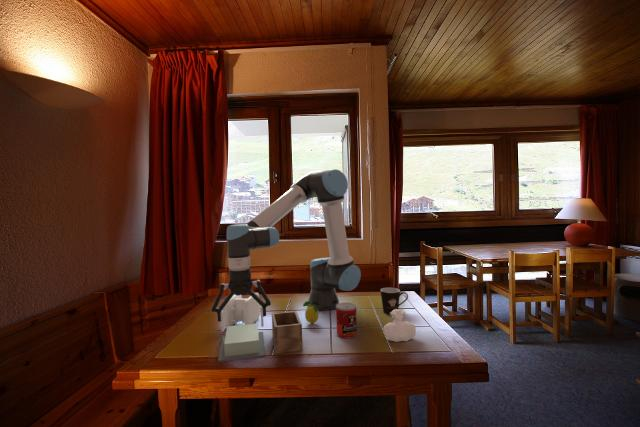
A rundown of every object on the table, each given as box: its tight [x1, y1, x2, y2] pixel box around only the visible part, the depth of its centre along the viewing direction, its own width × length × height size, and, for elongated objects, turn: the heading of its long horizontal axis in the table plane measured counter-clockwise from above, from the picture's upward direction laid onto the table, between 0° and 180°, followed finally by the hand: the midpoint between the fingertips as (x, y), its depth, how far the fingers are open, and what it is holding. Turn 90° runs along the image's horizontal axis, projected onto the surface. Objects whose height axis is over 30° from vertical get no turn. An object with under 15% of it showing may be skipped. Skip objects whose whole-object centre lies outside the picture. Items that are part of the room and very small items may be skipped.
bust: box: [382, 308, 417, 343], centre depth 121 cm, size 12×8×11 cm
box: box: [271, 310, 304, 354], centre depth 119 cm, size 9×14×9 cm, turn 12°
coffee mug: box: [380, 287, 409, 316], centre depth 148 cm, size 12×9×10 cm
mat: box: [217, 331, 266, 363], centre depth 118 cm, size 15×20×1 cm
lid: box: [224, 322, 259, 357], centre depth 118 cm, size 11×16×4 cm
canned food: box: [335, 302, 358, 339], centre depth 125 cm, size 8×8×11 cm
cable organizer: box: [222, 292, 261, 328], centre depth 140 cm, size 15×11×12 cm
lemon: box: [302, 300, 319, 325], centre depth 137 cm, size 7×6×10 cm
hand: (243, 327), depth 118 cm, fingers open, 13 cm apart
